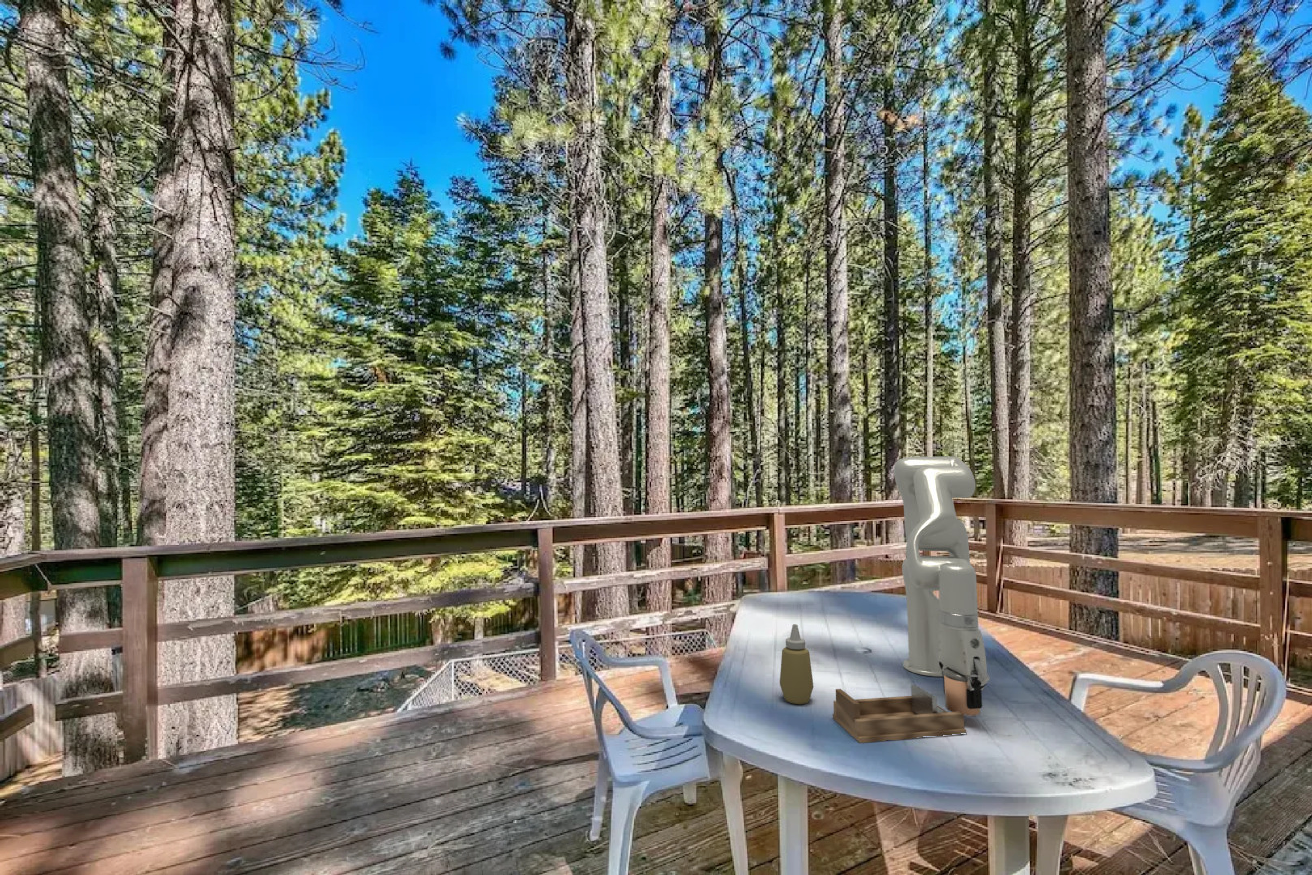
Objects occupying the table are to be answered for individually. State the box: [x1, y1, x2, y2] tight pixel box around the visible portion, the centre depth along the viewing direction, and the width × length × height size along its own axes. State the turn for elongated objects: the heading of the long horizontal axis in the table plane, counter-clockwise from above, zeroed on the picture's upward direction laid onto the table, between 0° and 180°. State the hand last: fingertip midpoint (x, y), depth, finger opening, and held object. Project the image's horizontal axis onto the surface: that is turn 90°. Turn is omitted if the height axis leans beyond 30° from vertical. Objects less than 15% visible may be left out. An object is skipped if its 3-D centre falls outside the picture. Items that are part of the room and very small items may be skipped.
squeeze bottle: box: [779, 623, 814, 705], centre depth 136 cm, size 8×8×18 cm
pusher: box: [910, 684, 946, 715], centre depth 122 cm, size 3×8×6 cm, turn 8°
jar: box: [943, 668, 981, 716], centre depth 124 cm, size 7×7×8 cm
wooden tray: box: [832, 688, 967, 744], centre depth 121 cm, size 24×12×7 cm, turn 98°
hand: (962, 700), depth 124 cm, fingers closed on jar, 6 cm apart
